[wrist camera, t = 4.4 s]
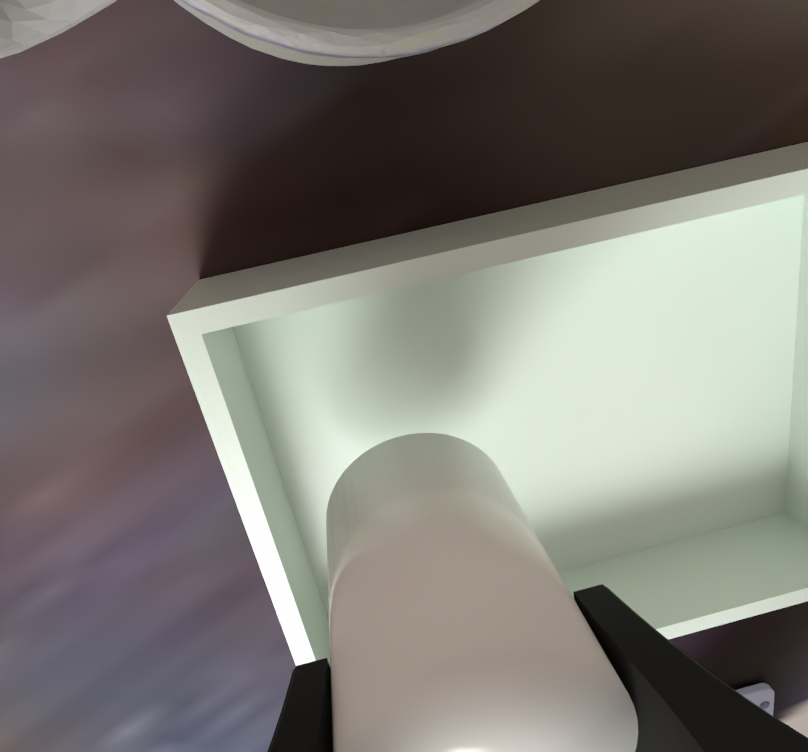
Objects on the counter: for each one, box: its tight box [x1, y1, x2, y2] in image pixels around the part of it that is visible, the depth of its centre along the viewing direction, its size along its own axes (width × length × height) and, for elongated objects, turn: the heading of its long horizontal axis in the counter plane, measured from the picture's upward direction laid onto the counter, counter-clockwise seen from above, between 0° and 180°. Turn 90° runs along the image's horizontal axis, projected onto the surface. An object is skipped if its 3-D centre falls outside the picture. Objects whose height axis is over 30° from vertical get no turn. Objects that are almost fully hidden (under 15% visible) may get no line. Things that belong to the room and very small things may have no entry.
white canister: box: [326, 433, 638, 752], centre depth 13 cm, size 5×5×7 cm
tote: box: [167, 142, 808, 666], centre depth 18 cm, size 14×19×4 cm
